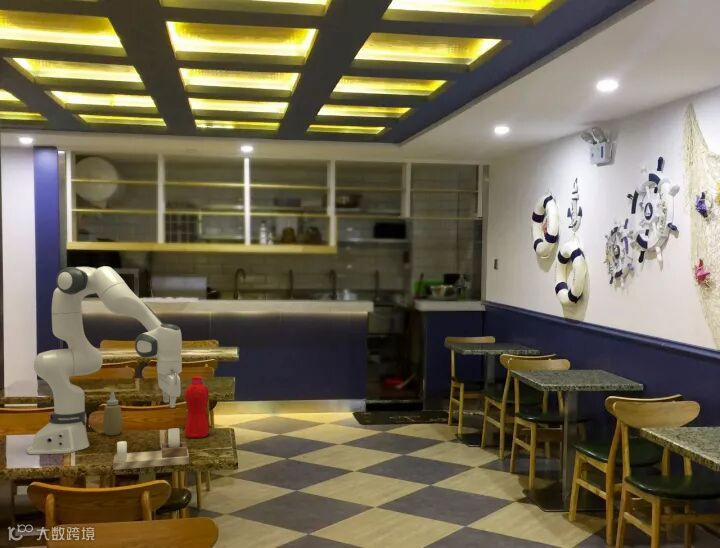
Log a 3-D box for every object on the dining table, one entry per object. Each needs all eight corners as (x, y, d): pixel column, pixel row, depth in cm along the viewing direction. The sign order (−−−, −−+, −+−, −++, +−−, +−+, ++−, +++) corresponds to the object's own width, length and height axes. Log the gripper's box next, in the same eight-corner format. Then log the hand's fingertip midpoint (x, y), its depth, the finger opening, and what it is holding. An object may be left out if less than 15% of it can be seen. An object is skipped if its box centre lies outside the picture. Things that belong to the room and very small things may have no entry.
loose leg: (167, 455, 259) (166, 430, 259) (170, 452, 263) (170, 428, 263) (177, 455, 259) (177, 430, 259) (181, 452, 263) (180, 428, 263)
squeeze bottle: (98, 435, 299) (98, 393, 299) (111, 431, 307) (111, 389, 307) (114, 437, 296) (113, 394, 296) (126, 432, 304) (126, 390, 304)
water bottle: (209, 438, 293) (209, 378, 293) (183, 438, 293) (182, 378, 293) (214, 433, 302) (214, 374, 302) (189, 433, 303) (188, 374, 302)
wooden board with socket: (113, 469, 250) (113, 454, 250) (115, 460, 261) (114, 446, 261) (189, 463, 257) (189, 448, 257) (187, 455, 268) (187, 440, 268)
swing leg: (118, 455, 259) (118, 437, 259) (127, 454, 260) (127, 437, 260) (117, 461, 250) (116, 443, 250) (126, 461, 251) (126, 443, 251)
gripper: (185, 371, 258) (184, 409, 258) (171, 363, 276) (171, 398, 276) (167, 373, 255) (167, 411, 255) (154, 364, 273) (154, 399, 273)
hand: (169, 404), depth 266 cm, fingers open, 8 cm apart
